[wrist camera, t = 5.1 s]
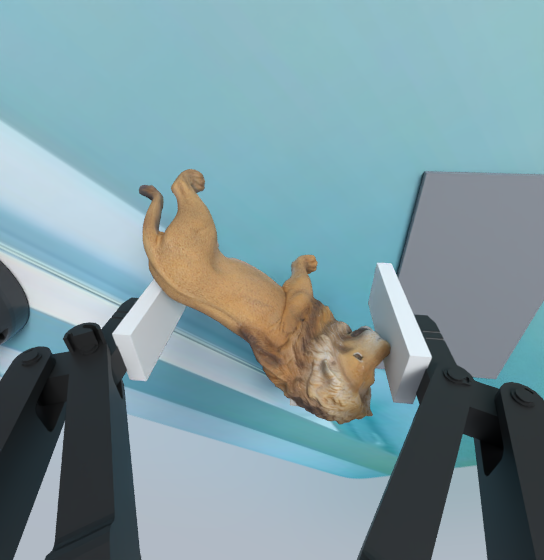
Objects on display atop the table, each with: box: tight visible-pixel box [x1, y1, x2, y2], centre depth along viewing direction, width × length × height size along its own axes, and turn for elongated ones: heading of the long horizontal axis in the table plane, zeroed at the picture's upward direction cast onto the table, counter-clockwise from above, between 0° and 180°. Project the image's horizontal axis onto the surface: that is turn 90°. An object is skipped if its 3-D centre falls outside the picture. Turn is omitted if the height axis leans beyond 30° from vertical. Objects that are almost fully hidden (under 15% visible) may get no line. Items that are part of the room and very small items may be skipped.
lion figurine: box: [139, 169, 391, 424], centre depth 15 cm, size 15×5×9 cm, turn 62°
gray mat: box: [376, 171, 544, 379], centre depth 26 cm, size 12×20×1 cm, turn 0°
